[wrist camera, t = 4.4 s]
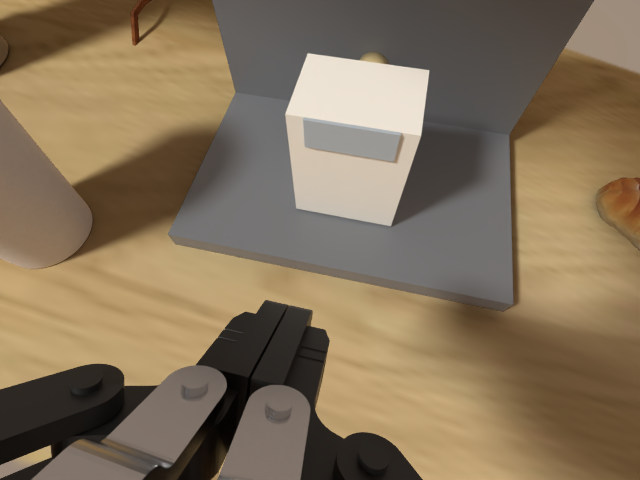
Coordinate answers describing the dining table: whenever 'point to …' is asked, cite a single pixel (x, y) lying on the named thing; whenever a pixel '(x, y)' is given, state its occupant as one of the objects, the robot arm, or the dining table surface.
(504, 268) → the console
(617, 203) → the pastry
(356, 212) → the white box
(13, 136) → the coffee cup
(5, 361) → the dining table surface
